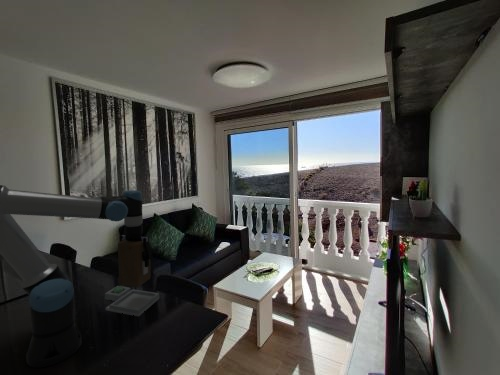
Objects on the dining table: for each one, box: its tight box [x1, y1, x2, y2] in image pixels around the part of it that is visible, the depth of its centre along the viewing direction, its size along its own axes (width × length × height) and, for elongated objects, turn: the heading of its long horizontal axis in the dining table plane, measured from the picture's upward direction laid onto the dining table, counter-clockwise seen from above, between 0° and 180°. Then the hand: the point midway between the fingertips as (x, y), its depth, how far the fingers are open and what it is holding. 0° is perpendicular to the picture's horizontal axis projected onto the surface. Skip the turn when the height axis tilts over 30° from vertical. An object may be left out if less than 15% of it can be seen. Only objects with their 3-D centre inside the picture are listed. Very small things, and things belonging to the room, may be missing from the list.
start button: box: [113, 285, 124, 294], centre depth 123 cm, size 4×4×3 cm
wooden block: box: [117, 238, 152, 288], centre depth 115 cm, size 10×10×20 cm
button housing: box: [104, 285, 132, 302], centre depth 123 cm, size 8×8×3 cm
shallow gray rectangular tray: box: [105, 288, 160, 317], centre depth 116 cm, size 15×17×3 cm
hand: (135, 272), depth 115 cm, fingers closed on wooden block, 10 cm apart
